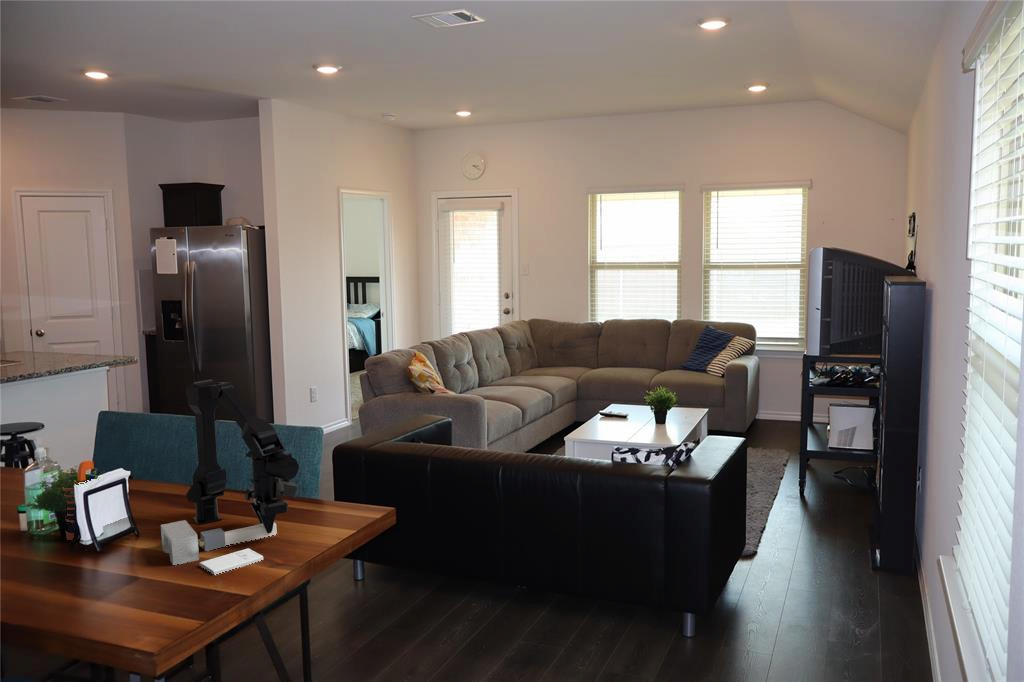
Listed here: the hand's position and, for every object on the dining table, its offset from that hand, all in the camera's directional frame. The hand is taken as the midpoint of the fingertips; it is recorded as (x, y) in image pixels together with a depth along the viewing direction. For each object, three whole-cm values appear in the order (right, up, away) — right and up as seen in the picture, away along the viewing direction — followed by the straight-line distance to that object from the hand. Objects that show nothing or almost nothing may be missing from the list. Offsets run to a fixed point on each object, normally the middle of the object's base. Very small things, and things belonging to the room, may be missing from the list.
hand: (267, 531), depth 214 cm
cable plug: (-6, -2, -4) cm, 8 cm away
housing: (-18, -3, -12) cm, 22 cm away
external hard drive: (-3, -4, -18) cm, 19 cm away
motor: (-50, -2, +4) cm, 51 cm away
